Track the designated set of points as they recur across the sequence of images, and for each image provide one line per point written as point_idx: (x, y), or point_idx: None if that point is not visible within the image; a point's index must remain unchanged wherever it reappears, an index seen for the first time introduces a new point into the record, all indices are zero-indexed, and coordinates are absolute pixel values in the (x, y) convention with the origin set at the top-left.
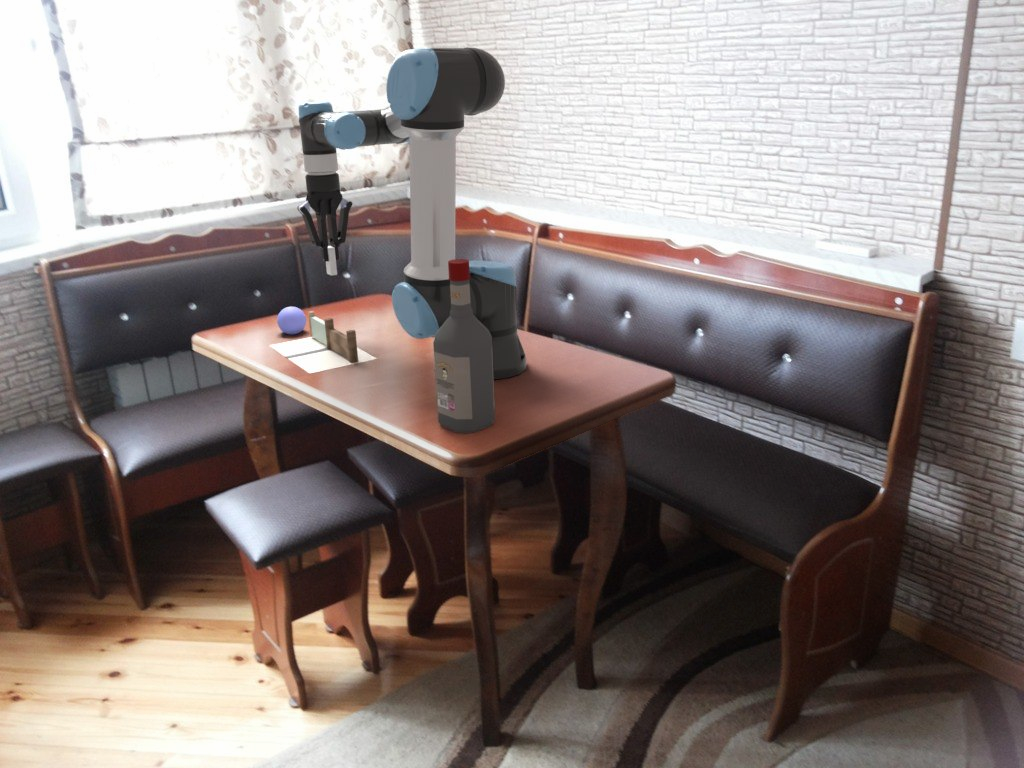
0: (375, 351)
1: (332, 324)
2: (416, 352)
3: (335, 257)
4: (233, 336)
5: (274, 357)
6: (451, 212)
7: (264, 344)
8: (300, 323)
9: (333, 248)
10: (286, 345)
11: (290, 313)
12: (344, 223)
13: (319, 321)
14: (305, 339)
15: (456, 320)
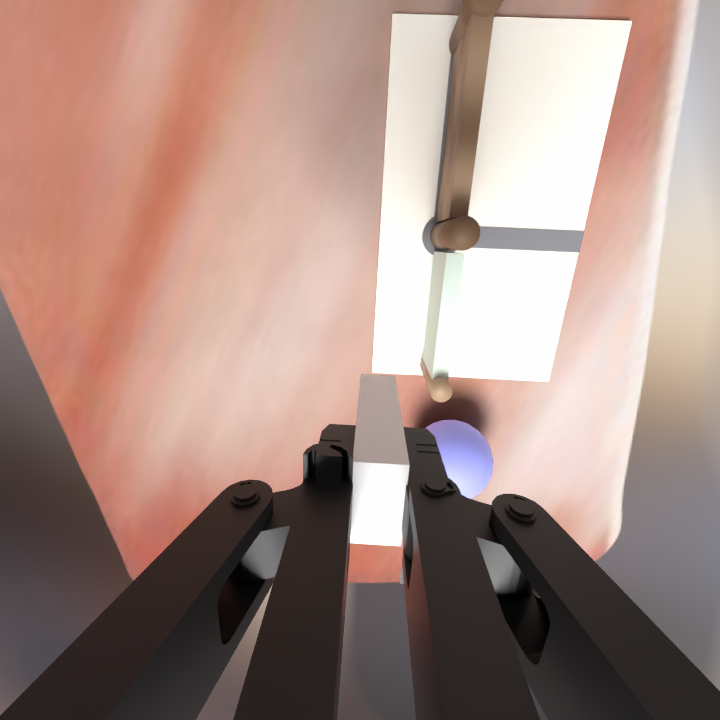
0: (351, 124)
1: (454, 218)
2: (252, 6)
3: (357, 418)
4: (555, 511)
5: (588, 284)
6: None
7: (541, 408)
8: (444, 424)
9: (364, 457)
10: (517, 349)
11: (472, 453)
12: (72, 711)
13: (454, 309)
14: (452, 365)
15: None
